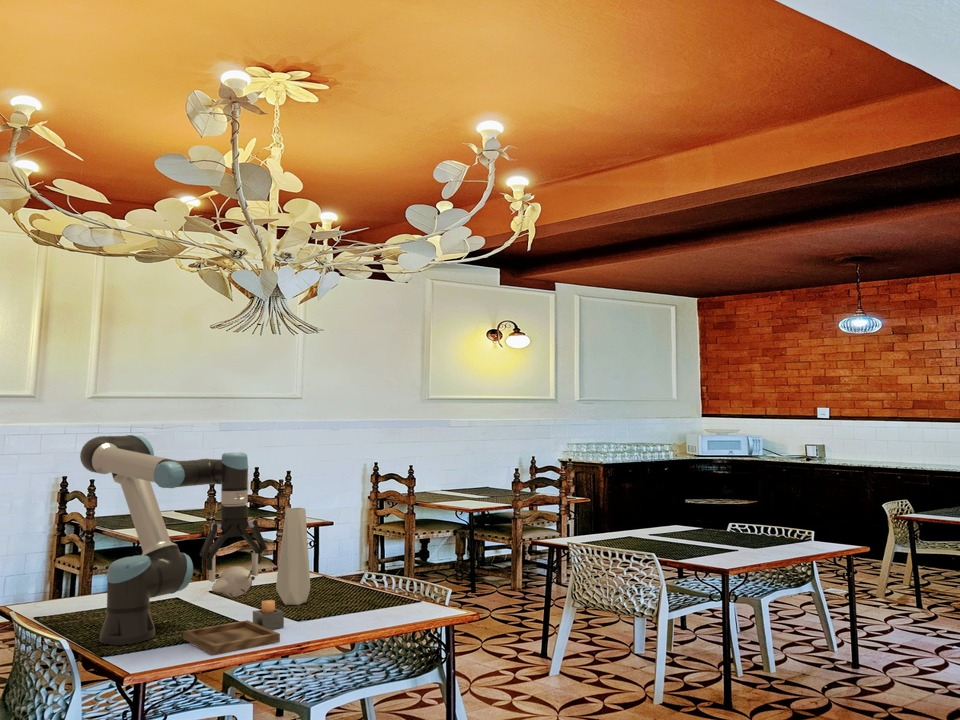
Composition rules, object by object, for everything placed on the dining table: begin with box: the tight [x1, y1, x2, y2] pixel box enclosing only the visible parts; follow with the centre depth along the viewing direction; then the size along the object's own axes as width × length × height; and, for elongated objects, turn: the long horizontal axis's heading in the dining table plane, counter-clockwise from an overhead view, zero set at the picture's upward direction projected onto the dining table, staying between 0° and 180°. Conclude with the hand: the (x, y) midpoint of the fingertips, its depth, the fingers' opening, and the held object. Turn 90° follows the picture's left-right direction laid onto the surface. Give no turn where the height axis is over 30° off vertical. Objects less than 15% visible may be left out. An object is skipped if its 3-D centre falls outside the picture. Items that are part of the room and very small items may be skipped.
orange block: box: [261, 599, 276, 614], centre depth 255 cm, size 4×4×5 cm
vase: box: [275, 507, 311, 606], centre depth 291 cm, size 12×12×33 cm
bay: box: [182, 619, 281, 656], centre depth 240 cm, size 20×22×2 cm
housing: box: [252, 607, 285, 631], centre depth 255 cm, size 7×7×5 cm
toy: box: [211, 565, 256, 598], centre depth 243 cm, size 13×9×15 cm
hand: (233, 578), depth 243 cm, fingers closed on toy, 12 cm apart
